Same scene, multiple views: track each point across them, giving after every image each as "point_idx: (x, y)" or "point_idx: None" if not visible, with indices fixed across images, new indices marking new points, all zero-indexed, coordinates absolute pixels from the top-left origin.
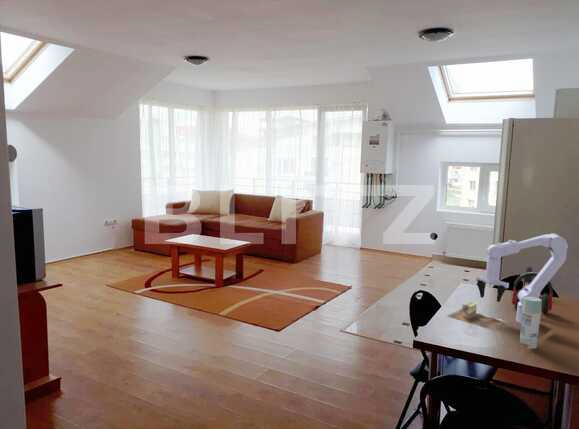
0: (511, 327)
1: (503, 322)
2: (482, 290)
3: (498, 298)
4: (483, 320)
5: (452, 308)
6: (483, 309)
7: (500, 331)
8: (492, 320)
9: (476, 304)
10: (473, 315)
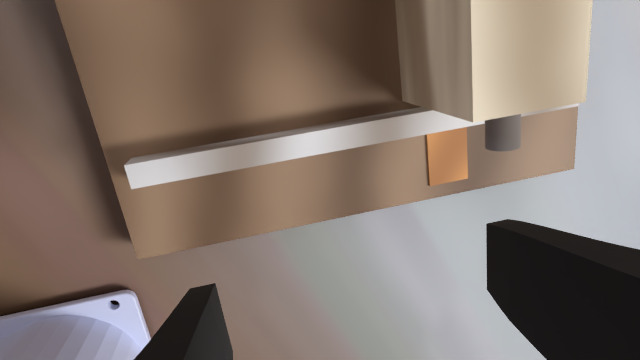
0: (77, 212)
1: (140, 193)
2: (598, 310)
3: (168, 320)
4: (283, 53)
5: (636, 153)
6: (467, 354)
7: (38, 3)
8: (233, 140)
9: (468, 115)
10: (405, 46)
